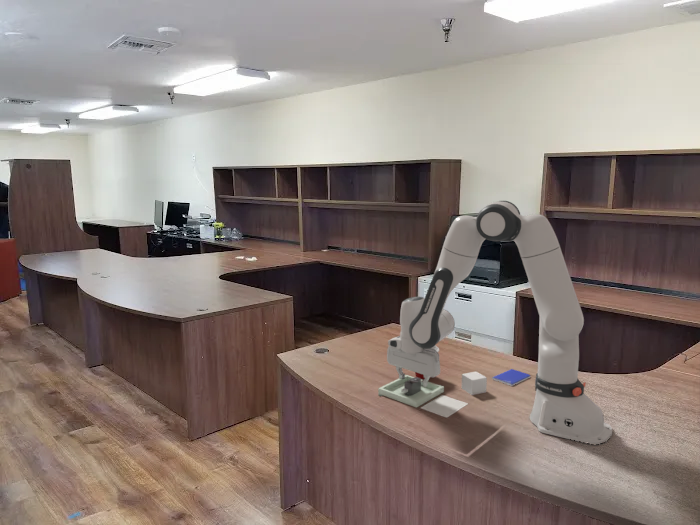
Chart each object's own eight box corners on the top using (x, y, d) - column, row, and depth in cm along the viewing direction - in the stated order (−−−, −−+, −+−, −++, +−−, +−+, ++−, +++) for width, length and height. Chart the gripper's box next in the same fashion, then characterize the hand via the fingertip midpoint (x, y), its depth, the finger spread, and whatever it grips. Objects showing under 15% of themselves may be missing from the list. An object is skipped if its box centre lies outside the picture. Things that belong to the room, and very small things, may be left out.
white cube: (486, 394, 171) (486, 377, 170) (471, 397, 169) (472, 380, 168) (475, 387, 176) (476, 371, 175) (461, 390, 174) (461, 373, 173)
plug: (415, 387, 175) (415, 376, 175) (422, 389, 173) (422, 378, 173) (399, 395, 169) (399, 384, 168) (406, 398, 167) (406, 387, 166)
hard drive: (511, 383, 176) (530, 374, 184) (492, 376, 183) (511, 368, 190) (511, 387, 177) (530, 378, 184) (491, 380, 183) (510, 372, 191)
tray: (443, 393, 171) (443, 386, 171) (416, 409, 160) (416, 401, 160) (406, 381, 182) (406, 374, 182) (378, 395, 171) (378, 388, 170)
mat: (468, 405, 162) (468, 403, 162) (446, 419, 153) (446, 417, 153) (442, 396, 169) (442, 394, 169) (420, 409, 160) (420, 407, 160)
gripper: (444, 348, 164) (443, 387, 166) (395, 335, 178) (395, 372, 180) (433, 353, 160) (433, 393, 162) (384, 339, 173) (384, 377, 176)
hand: (412, 382), depth 171 cm, fingers open, 8 cm apart
